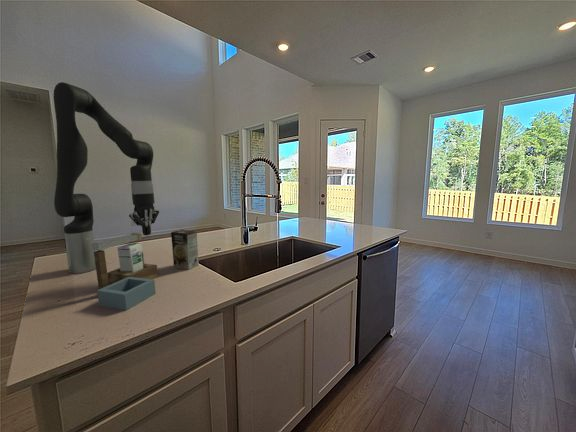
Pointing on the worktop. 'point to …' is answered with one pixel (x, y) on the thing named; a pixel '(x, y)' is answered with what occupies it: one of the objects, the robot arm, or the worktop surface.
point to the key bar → (116, 241)
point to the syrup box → (131, 257)
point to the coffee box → (185, 249)
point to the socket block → (119, 271)
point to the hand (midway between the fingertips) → (147, 234)
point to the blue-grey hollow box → (126, 293)
